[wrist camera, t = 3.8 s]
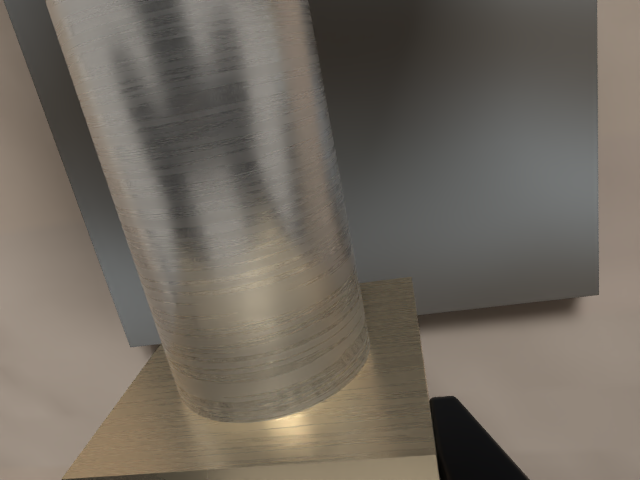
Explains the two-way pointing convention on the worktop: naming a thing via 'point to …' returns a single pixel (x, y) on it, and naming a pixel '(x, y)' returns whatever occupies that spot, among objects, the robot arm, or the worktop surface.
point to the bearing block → (413, 147)
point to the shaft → (241, 254)
